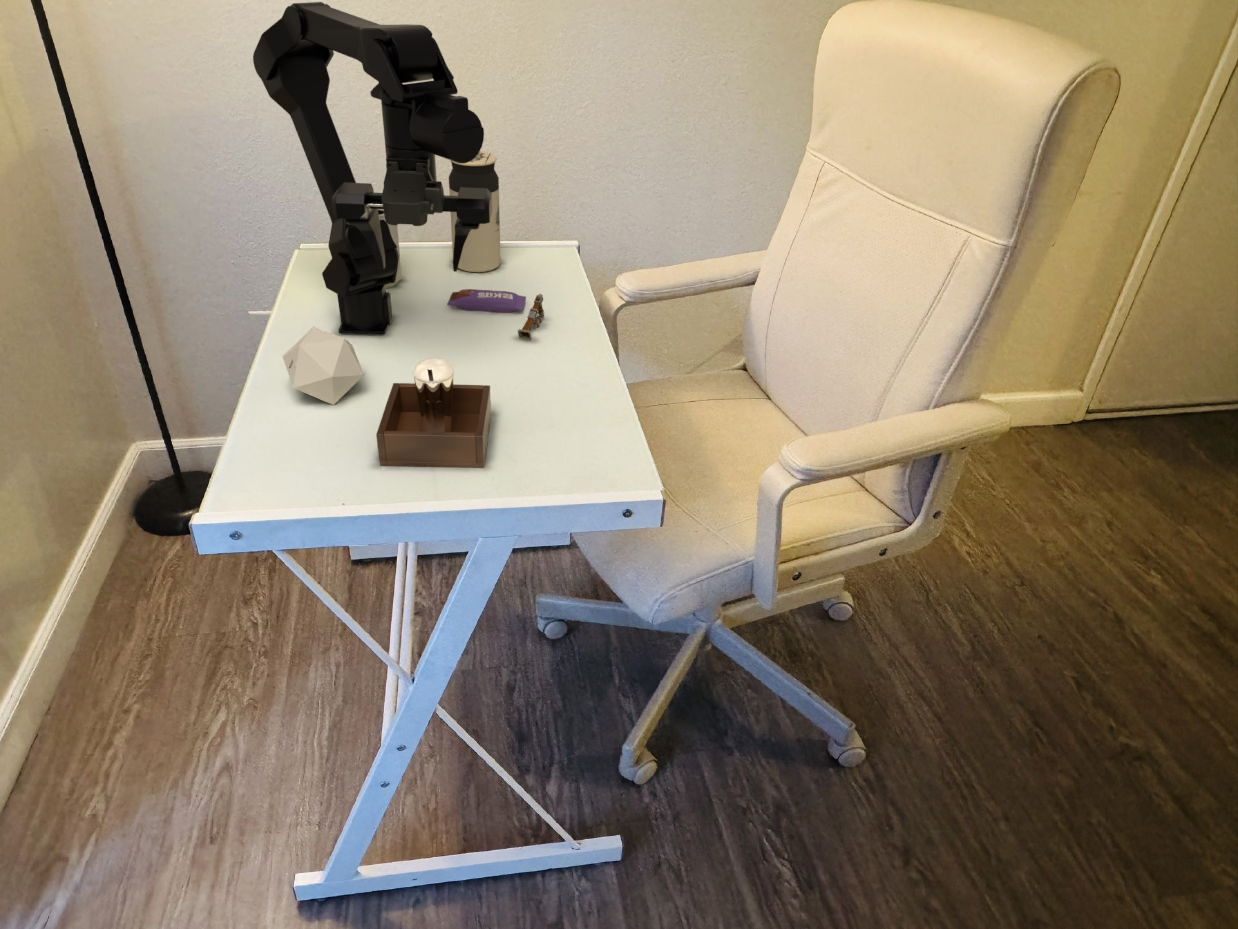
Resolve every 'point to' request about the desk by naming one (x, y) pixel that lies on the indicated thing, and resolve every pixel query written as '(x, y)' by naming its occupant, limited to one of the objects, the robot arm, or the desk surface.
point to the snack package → (487, 300)
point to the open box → (414, 447)
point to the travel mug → (484, 241)
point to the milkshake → (434, 394)
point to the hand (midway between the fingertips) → (419, 269)
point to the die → (323, 365)
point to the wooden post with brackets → (532, 318)
